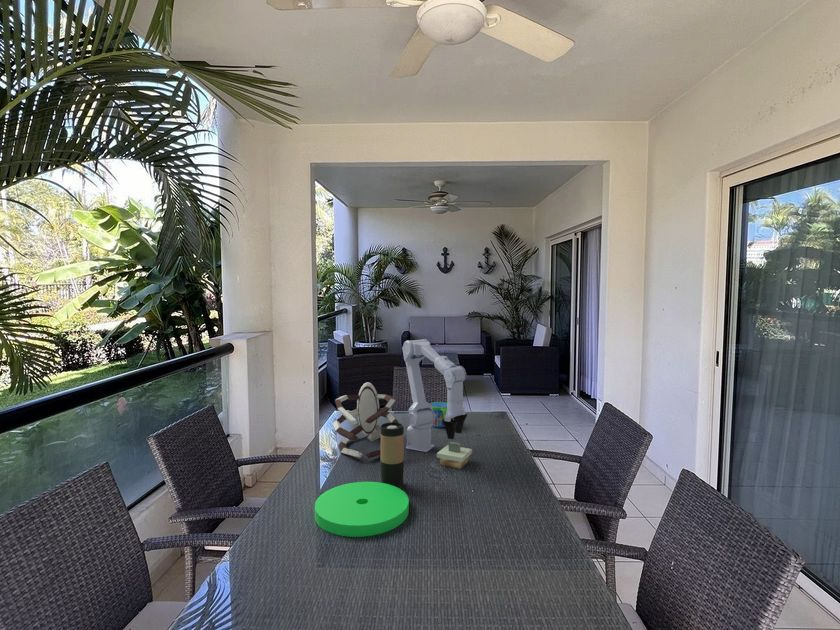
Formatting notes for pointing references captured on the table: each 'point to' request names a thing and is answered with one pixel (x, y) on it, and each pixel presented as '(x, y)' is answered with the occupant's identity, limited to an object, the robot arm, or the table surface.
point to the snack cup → (439, 413)
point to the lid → (454, 452)
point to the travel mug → (392, 454)
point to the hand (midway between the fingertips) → (454, 435)
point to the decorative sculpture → (363, 418)
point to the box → (453, 463)
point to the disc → (361, 509)
